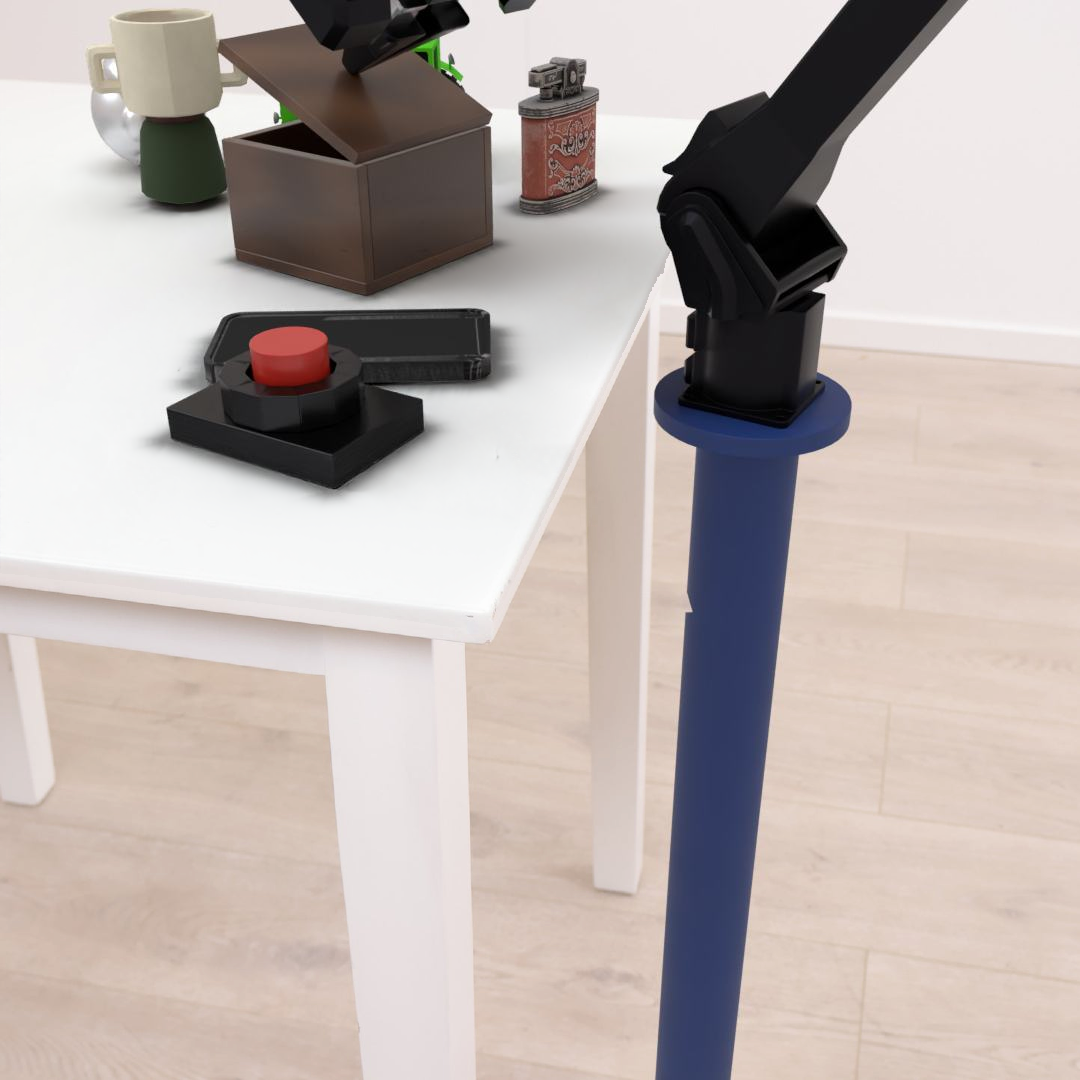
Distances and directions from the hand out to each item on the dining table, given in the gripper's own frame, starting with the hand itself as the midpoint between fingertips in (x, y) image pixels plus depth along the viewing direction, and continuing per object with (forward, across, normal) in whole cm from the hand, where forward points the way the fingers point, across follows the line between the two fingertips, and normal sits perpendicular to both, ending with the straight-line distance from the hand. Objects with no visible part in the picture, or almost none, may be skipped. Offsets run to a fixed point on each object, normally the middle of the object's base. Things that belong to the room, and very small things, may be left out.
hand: (349, 68), depth 81 cm
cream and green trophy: (+22, -1, -5) cm, 22 cm away
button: (-6, +22, +18) cm, 29 cm away
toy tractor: (+18, -17, -1) cm, 25 cm away
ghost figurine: (+29, -6, -12) cm, 32 cm away
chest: (+8, 0, +8) cm, 12 cm away
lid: (+1, 0, +1) cm, 1 cm away
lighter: (+6, -18, +11) cm, 21 cm away
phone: (0, +14, +17) cm, 22 cm away
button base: (-3, +22, +20) cm, 30 cm away
